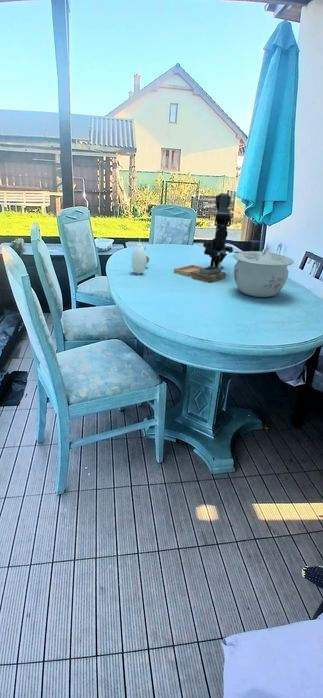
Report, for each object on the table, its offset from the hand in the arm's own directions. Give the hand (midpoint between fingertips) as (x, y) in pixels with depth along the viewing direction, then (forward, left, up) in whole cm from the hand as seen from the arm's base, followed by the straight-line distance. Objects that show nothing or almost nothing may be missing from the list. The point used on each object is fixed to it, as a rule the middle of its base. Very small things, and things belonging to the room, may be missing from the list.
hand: (216, 266), depth 204 cm
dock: (+7, 0, -5) cm, 9 cm away
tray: (+5, -14, -5) cm, 16 cm away
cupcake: (+19, -38, -5) cm, 43 cm away
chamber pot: (+10, +31, -5) cm, 33 cm away
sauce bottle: (+30, -29, -5) cm, 42 cm away
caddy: (+6, 0, -5) cm, 7 cm away
